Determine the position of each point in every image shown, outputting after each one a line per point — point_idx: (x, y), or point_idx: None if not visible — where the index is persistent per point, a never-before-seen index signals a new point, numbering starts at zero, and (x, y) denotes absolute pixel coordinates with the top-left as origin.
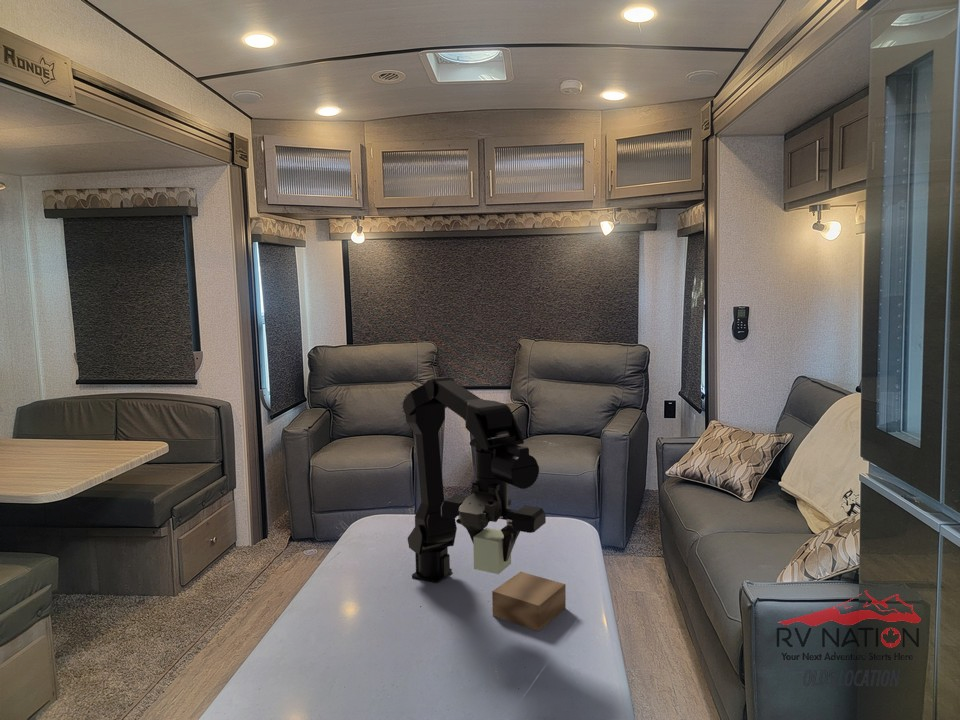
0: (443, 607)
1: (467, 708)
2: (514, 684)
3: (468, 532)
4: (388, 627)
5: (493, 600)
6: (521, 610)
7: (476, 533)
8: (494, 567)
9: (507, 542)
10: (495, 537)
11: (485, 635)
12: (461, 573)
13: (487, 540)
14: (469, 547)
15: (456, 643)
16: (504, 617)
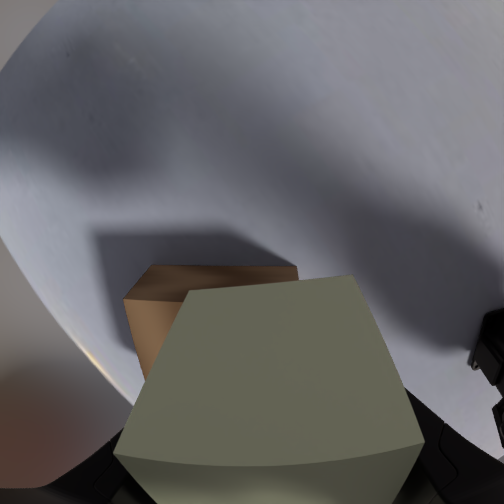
0: (434, 232)
1: None
2: (78, 56)
3: (485, 453)
4: (482, 80)
5: None
6: (190, 285)
7: (417, 481)
8: (207, 307)
9: (100, 462)
10: (207, 499)
11: (252, 169)
12: (451, 373)
13: (237, 458)
14: None
15: (296, 89)
16: (255, 269)
